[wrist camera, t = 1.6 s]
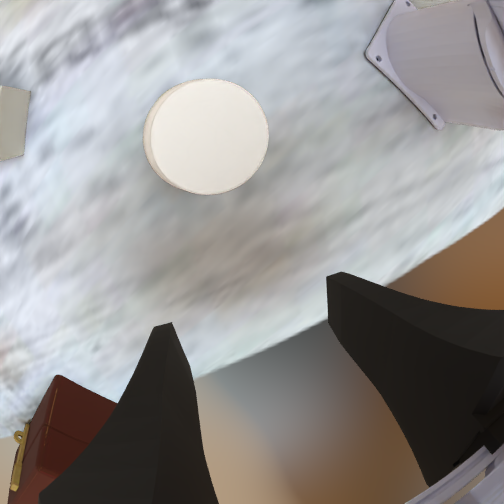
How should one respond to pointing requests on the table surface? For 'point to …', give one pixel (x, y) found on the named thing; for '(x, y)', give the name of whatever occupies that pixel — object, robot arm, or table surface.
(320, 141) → the table surface
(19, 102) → the cream ceramic block
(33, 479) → the box
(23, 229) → the table surface
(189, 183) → the supplement bottle
